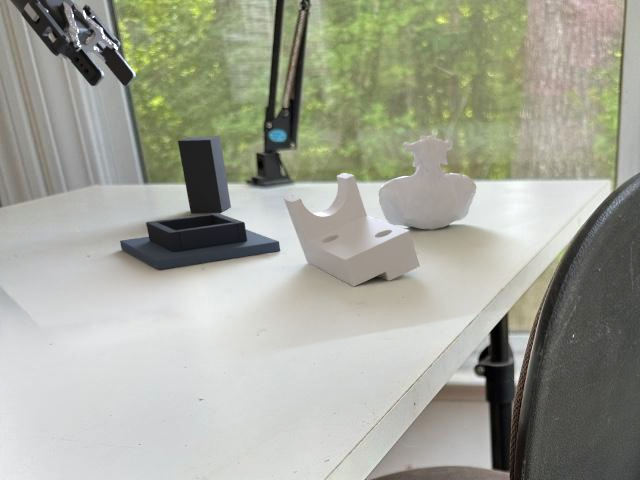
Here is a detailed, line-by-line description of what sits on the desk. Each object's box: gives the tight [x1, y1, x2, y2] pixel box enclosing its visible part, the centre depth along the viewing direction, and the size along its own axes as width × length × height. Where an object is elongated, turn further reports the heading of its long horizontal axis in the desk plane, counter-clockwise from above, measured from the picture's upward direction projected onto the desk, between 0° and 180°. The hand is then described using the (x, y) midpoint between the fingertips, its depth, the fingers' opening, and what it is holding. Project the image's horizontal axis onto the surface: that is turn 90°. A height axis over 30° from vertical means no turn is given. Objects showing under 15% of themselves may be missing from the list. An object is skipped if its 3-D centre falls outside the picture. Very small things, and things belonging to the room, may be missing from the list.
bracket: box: [283, 172, 421, 287], centre depth 90 cm, size 13×7×8 cm, turn 28°
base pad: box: [119, 212, 281, 271], centre depth 102 cm, size 14×14×3 cm
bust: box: [378, 133, 478, 231], centre depth 106 cm, size 12×8×11 cm
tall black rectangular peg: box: [177, 135, 232, 214], centre depth 124 cm, size 4×4×9 cm
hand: (115, 81), depth 117 cm, fingers open, 8 cm apart
